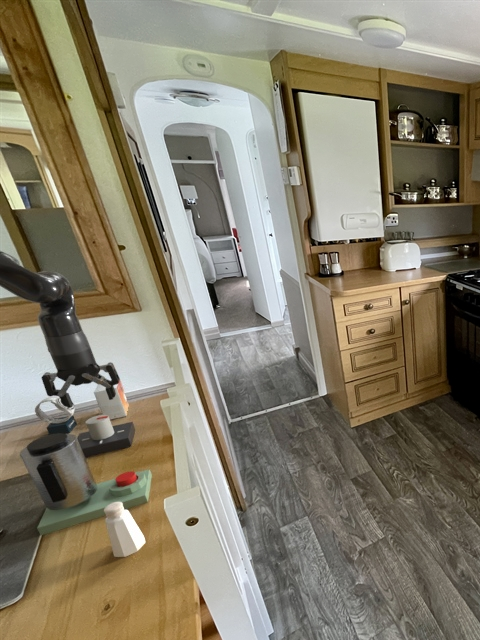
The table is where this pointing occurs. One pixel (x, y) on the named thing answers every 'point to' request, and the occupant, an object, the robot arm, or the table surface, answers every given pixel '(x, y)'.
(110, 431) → the temp dial
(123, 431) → the dial panel
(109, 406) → the small box
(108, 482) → the kettle base
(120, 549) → the salt shaker
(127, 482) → the kettle switch
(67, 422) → the watch
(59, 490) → the kettle
